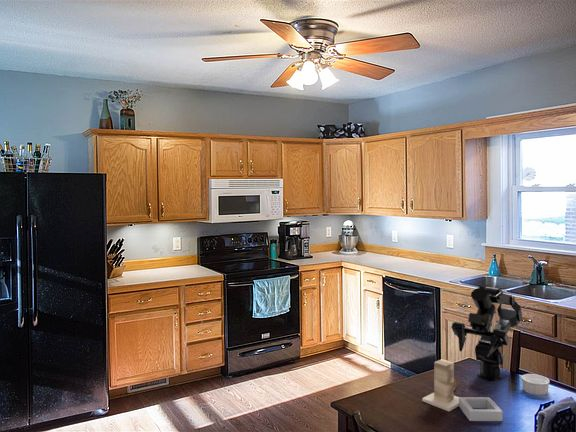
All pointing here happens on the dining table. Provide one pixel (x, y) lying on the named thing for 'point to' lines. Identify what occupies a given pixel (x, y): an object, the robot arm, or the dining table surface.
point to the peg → (444, 380)
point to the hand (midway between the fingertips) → (473, 353)
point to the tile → (440, 404)
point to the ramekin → (535, 384)
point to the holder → (480, 414)
